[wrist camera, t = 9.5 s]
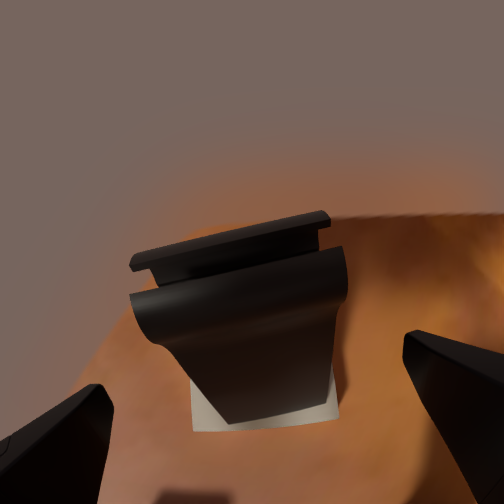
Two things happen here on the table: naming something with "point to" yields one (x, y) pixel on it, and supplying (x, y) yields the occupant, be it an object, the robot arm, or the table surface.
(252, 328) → the phone stand
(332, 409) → the base block
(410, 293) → the table surface
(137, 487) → the table surface
